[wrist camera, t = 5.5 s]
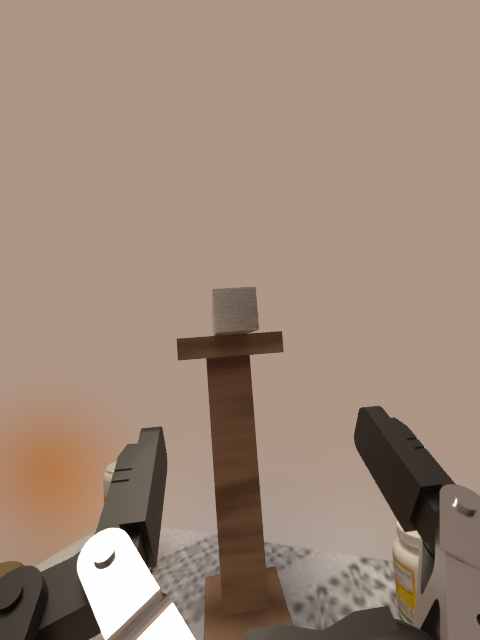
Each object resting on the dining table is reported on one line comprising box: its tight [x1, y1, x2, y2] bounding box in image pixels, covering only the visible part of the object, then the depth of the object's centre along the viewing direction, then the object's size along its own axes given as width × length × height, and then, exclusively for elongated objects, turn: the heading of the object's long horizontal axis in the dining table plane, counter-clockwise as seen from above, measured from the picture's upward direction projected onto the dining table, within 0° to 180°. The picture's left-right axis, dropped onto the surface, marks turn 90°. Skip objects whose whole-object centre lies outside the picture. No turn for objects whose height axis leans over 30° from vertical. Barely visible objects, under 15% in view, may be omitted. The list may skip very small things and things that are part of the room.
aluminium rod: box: [212, 287, 259, 336], centre depth 31 cm, size 20×3×3 cm, turn 6°
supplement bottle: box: [392, 521, 421, 625], centre depth 33 cm, size 5×5×10 cm
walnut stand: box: [177, 331, 292, 640], centre depth 34 cm, size 13×10×32 cm
